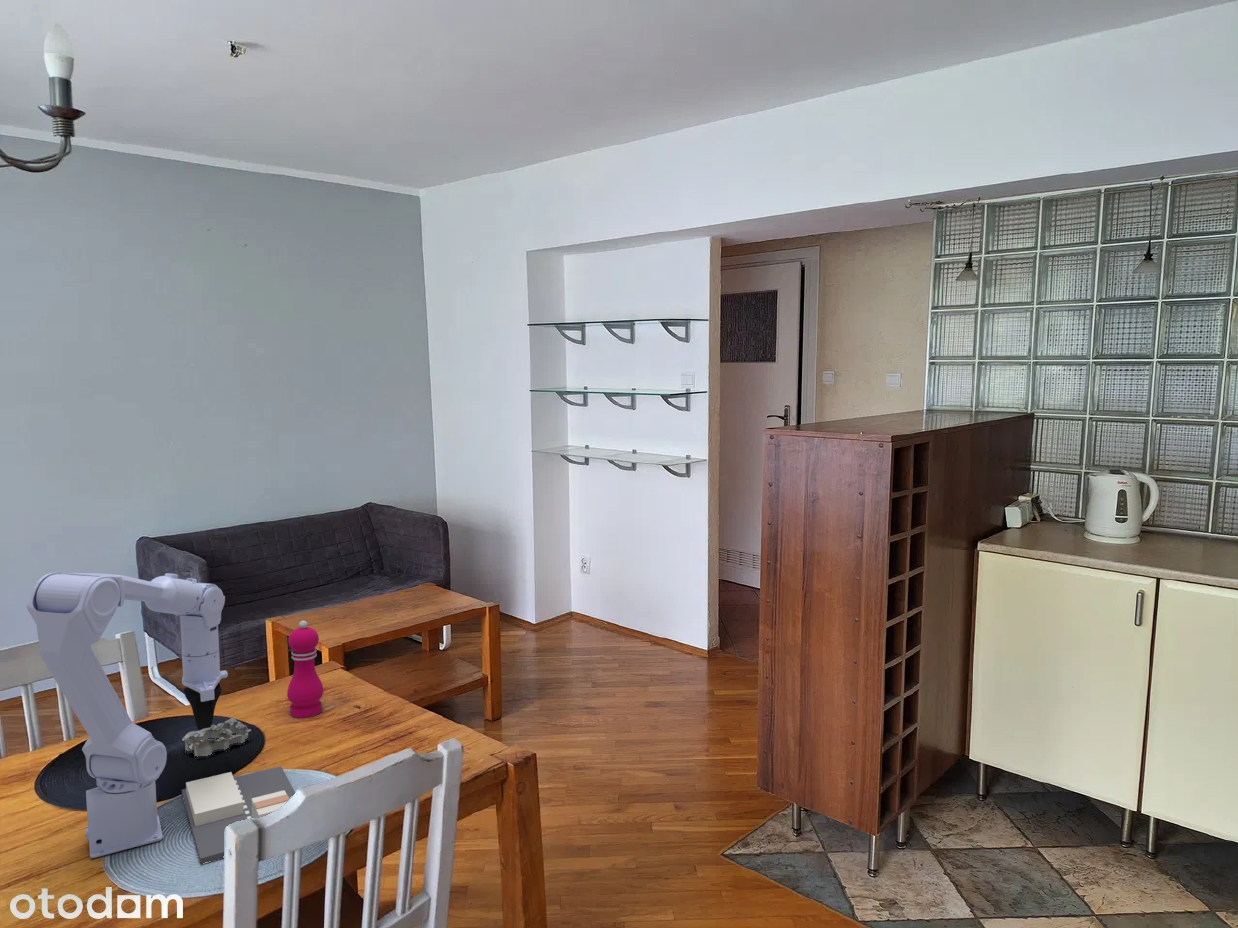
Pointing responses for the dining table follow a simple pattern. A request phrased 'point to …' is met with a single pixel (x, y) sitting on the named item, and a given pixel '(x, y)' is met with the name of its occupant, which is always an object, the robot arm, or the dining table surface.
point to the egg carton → (221, 731)
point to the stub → (268, 803)
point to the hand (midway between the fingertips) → (204, 727)
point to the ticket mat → (249, 791)
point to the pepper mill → (304, 673)
